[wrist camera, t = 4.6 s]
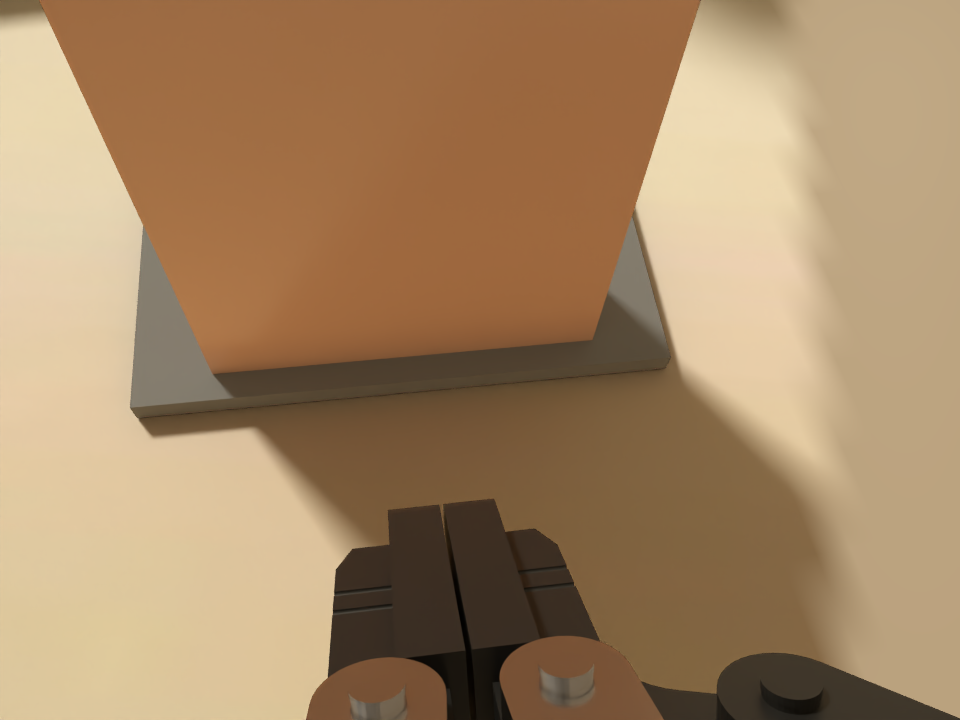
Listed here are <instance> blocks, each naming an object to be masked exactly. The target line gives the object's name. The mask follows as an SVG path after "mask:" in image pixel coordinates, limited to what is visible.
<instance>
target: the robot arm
mask: <svg viewBox="0 0 960 720" xmlns="http://www.w3.org/2000/svg"><path fill="white" fill-rule="evenodd" d="M443 519H444V529H443V524H442V518H441V513H440V507H439V505H432V506H422V507H413V508H404V509H394V510H388V520H389V541H390V545H384V546H375V547H365V548H356V549H352V550H351V552H350V553H349V554H348V555H347V557H346V558H345V559H344V560H343V562H342V563H341V564H340V565H339V566H338V568H337V569H336V575H335V589H334V595H335V596H334V602H333V615H332V629H331V642H330V656H329V669H328V678H327V679H326V680H325V681H324V682H323V683H322V684H321V685H320V686H319V687H318V688H317V690H316V691H315V693H314V694H313V696H312V699H311V702H310V704H309V709H308V714H307V718H306V720H960V718H957V717H955V716H952V715H950V714H948V713H945V712H943V711H940V710H938V709H935V708H933V707H930V706H928V705H925V704H923V703H920V702H918V701H915V700H913V699H911V698H908V697H906V696H903V695H901V694H898V693H896V692H893V691H891V690H888V689H886V688H883V687H881V686H878V685H876V684H874V683H871V682H869V681H866V680H864V679H861V678H859V677H856V676H854V675H851V674H849V673H846V672H844V671H841V670H839V669H836V668H834V667H832V666H829V665H827V664H824V663H822V662H819V661H816V660H813V659H810V658H806V657H802V656H798V655H792V654H785V653H762V654H756V655H750V656H747V657H744V658H741V659H739V660H737V661H735V662H733V663H731V664H730V665H729V666H727V667H726V668H725V669H724V671H723V672H722V673H721V675H720V677H719V679H718V684H717V694H711V693H701V692H690V691H679V690H672V689H665V688H661V687H657V686H653V685H650V684H647V683H644V682H641V681H640V680H639V678H638V676H637V675H636V673H635V671H634V670H633V668H632V666H631V665H630V663H629V662H628V661H627V659H626V658H625V657H624V656H623V655H622V654H621V653H620V652H618V651H617V650H615V649H614V648H612V647H611V646H609V645H606V644H604V643H602V642H600V640H599V638H598V636H597V634H596V631H595V629H594V627H593V624H592V622H591V620H590V618H589V615H588V613H587V611H586V609H585V606H584V604H583V602H582V600H581V597H580V595H579V593H578V591H577V588H576V586H575V587H574V582H573V579H572V577H571V575H570V572H569V570H568V569H567V568H566V563H565V561H564V559H563V557H562V554H561V552H560V550H559V548H558V545H557V544H556V543H554V542H553V541H551V540H550V539H549V538H547V537H546V536H544V535H543V534H541V533H540V532H539V531H537V530H536V529H528V530H519V531H510V532H505V530H504V527H503V524H502V521H501V518H500V515H499V512H498V509H497V506H496V503H495V500H494V499H487V500H478V501H468V502H459V503H449V504H443ZM444 533H445V535H444Z"/></svg>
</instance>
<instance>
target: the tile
mask: <svg viewBox="0 0 960 720" xmlns="http://www.w3.org/2000/svg"><path fill="white" fill-rule="evenodd" d="M39 1H40V3H41V6H42V8H43V10H44V12H45V14H46V16H47V18H48V21H49V23H50V25H51V27H52V29H53V31H54V34H55V36H56V38H57V40H58V42H59V44H60V47H61V49H62V51H63V53H64V55H65V57H66V59H67V62H68V64H69V66H70V68H71V70H72V72H73V75H74V77H75V79H76V81H77V83H78V85H79V88H80V90H81V92H82V94H83V96H84V98H85V100H86V103H87V105H88V107H89V109H90V111H91V113H92V116H93V118H94V120H95V122H96V124H97V126H98V129H99V131H100V133H101V135H102V137H103V139H104V141H105V144H106V146H107V148H108V150H109V152H110V154H111V157H112V159H113V161H114V163H115V165H116V167H117V169H118V172H119V174H120V176H121V178H122V180H123V182H124V185H125V187H126V189H127V191H128V193H129V195H130V198H131V200H132V202H133V204H134V206H135V208H136V210H137V213H138V215H139V217H140V219H141V221H142V223H143V226H144V228H145V230H146V232H147V234H148V236H149V239H150V241H151V243H152V245H153V247H154V249H155V251H156V254H157V256H158V258H159V260H160V262H161V264H162V267H163V269H164V271H165V273H166V275H167V277H168V280H169V282H170V284H171V286H172V288H173V290H174V292H175V295H176V297H177V299H178V301H179V303H180V305H181V308H182V310H183V312H184V314H185V316H186V318H187V320H188V323H189V325H190V327H191V329H192V331H193V333H194V336H195V338H196V340H197V342H198V344H199V346H200V349H201V351H202V353H203V355H204V357H205V359H206V361H207V364H208V366H209V368H210V370H211V372H212V374H220V373H231V372H242V371H253V370H264V369H276V368H287V367H298V366H309V365H320V364H331V363H342V362H354V361H365V360H376V359H387V358H398V357H409V356H420V355H432V354H443V353H454V352H465V351H476V350H487V349H499V348H510V347H521V346H532V345H543V344H554V343H565V342H577V341H588V340H593V337H594V334H595V330H596V327H597V324H598V321H599V318H600V315H601V312H602V308H603V305H604V302H605V299H606V296H607V293H608V290H609V286H610V283H611V280H612V277H613V274H614V271H615V268H616V265H617V261H618V258H619V255H620V252H621V249H622V246H623V243H624V239H625V236H626V233H627V230H628V227H629V224H630V221H631V217H632V214H633V211H634V208H635V205H636V202H637V199H638V195H639V192H640V189H641V186H642V183H643V180H644V177H645V173H646V170H647V167H648V164H649V161H650V158H651V155H652V151H653V148H654V145H655V142H656V139H657V136H658V133H659V129H660V126H661V123H662V120H663V117H664V114H665V111H666V107H667V104H668V101H669V98H670V95H671V92H672V89H673V85H674V82H675V79H676V76H677V73H678V70H679V67H680V63H681V60H682V57H683V54H684V51H685V48H686V45H687V41H688V38H689V35H690V32H691V29H692V26H693V23H694V19H695V16H696V13H697V10H698V7H699V4H700V1H701V0H39Z"/></svg>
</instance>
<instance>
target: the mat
mask: <svg viewBox="0 0 960 720" xmlns="http://www.w3.org/2000/svg"><path fill="white" fill-rule="evenodd" d="M670 358H671V356H670V353H669V349H668V345H667V342H666V338H665V334H664V331H663V327H662V323H661V320H660V316H659V312H658V309H657V305H656V301H655V298H654V294H653V291H652V287H651V283H650V280H649V276H648V272H647V269H646V265H645V261H644V258H643V254H642V250H641V247H640V243H639V239H638V236H637V232H636V228H635V225H634V221H633V217H631V221H630V224H629V227H628V230H627V233H626V236H625V239H624V243H623V246H622V249H621V252H620V255H619V258H618V261H617V265H616V268H615V271H614V274H613V277H612V280H611V283H610V286H609V290H608V293H607V296H606V299H605V302H604V305H603V308H602V312H601V315H600V318H599V321H598V324H597V327H596V330H595V334H594V337H593V340H588V341H577V342H565V343H554V344H543V345H532V346H521V347H510V348H499V349H487V350H476V351H465V352H454V353H443V354H432V355H420V356H409V357H398V358H387V359H376V360H365V361H354V362H342V363H331V364H320V365H309V366H298V367H287V368H276V369H264V370H253V371H242V372H231V373H220V374H212V372H211V370H210V368H209V366H208V364H207V361H206V359H205V357H204V355H203V353H202V351H201V349H200V346H199V344H198V342H197V340H196V338H195V336H194V333H193V331H192V329H191V327H190V325H189V323H188V320H187V318H186V316H185V314H184V312H183V310H182V308H181V305H180V303H179V301H178V299H177V297H176V295H175V292H174V290H173V288H172V286H171V284H170V282H169V280H168V277H167V275H166V273H165V271H164V269H163V267H162V264H161V262H160V260H159V258H158V256H157V254H156V251H155V249H154V247H153V245H152V243H151V241H150V239H149V236H148V234H147V232H146V230H145V228H144V226H143V235H142V249H141V263H140V277H139V290H138V304H137V318H136V332H135V346H134V360H133V374H132V387H131V401H130V408H131V410H132V411H133V413H134V414H135V416H136V417H137V418H143V417H154V416H164V415H175V414H186V413H196V412H207V411H218V410H228V409H239V408H249V407H260V406H271V405H281V404H292V403H303V402H313V401H324V400H334V399H345V398H356V397H366V396H377V395H388V394H398V393H409V392H419V391H430V390H441V389H451V388H462V387H473V386H483V385H494V384H504V383H515V382H526V381H536V380H547V379H558V378H568V377H579V376H589V375H600V374H611V373H621V372H632V371H642V370H653V369H664V368H666V366H667V364H668V362H669V360H670Z"/></svg>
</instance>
